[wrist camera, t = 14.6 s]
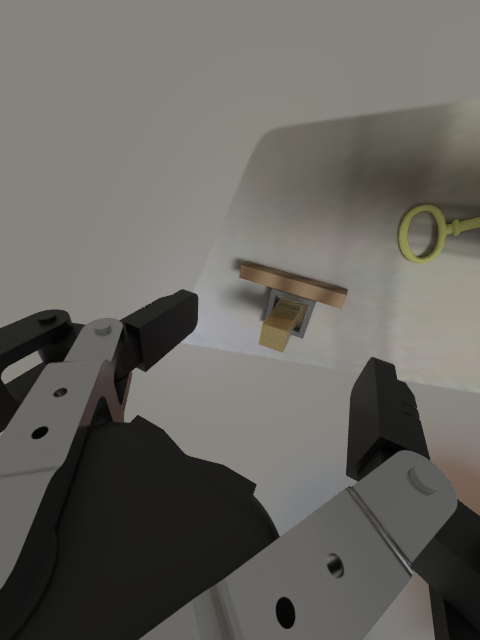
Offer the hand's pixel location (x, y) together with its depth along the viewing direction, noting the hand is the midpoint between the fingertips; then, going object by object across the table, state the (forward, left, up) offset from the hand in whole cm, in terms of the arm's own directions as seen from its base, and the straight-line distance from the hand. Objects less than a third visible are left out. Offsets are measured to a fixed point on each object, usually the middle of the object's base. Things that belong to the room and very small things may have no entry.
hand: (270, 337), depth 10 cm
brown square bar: (+4, +9, -30) cm, 32 cm away
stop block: (+3, +15, -30) cm, 34 cm away
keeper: (+3, +15, -30) cm, 34 cm away
